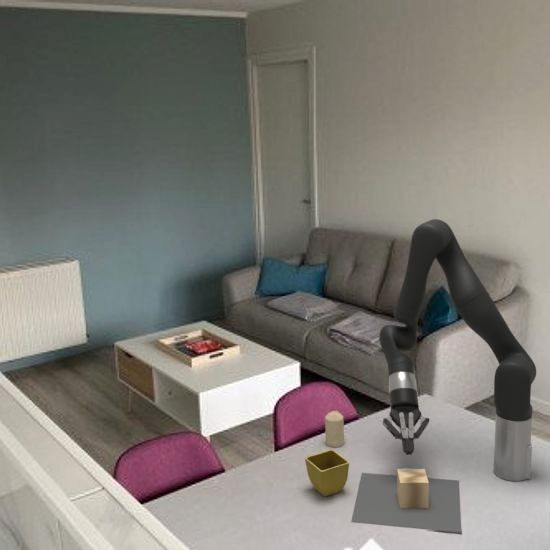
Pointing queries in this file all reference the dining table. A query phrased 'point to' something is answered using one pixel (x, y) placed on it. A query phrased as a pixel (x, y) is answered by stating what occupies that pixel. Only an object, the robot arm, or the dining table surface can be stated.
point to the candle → (334, 429)
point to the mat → (386, 509)
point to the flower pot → (327, 472)
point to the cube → (412, 488)
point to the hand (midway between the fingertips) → (409, 453)
